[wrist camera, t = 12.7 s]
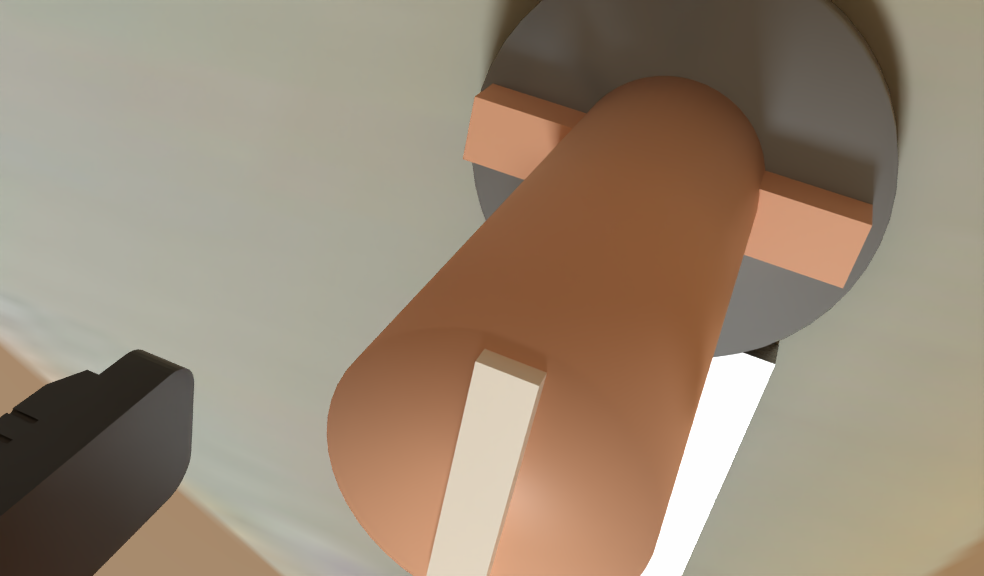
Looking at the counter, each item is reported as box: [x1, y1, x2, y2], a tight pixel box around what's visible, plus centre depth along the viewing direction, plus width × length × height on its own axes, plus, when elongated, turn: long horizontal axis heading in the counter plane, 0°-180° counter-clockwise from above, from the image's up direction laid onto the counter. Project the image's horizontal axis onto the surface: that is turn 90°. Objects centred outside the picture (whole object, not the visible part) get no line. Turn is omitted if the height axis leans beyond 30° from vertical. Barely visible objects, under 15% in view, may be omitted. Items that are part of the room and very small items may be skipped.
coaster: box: [472, 0, 898, 358], centre depth 22 cm, size 10×10×1 cm
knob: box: [327, 76, 873, 576], centre depth 17 cm, size 5×9×12 cm, turn 77°
